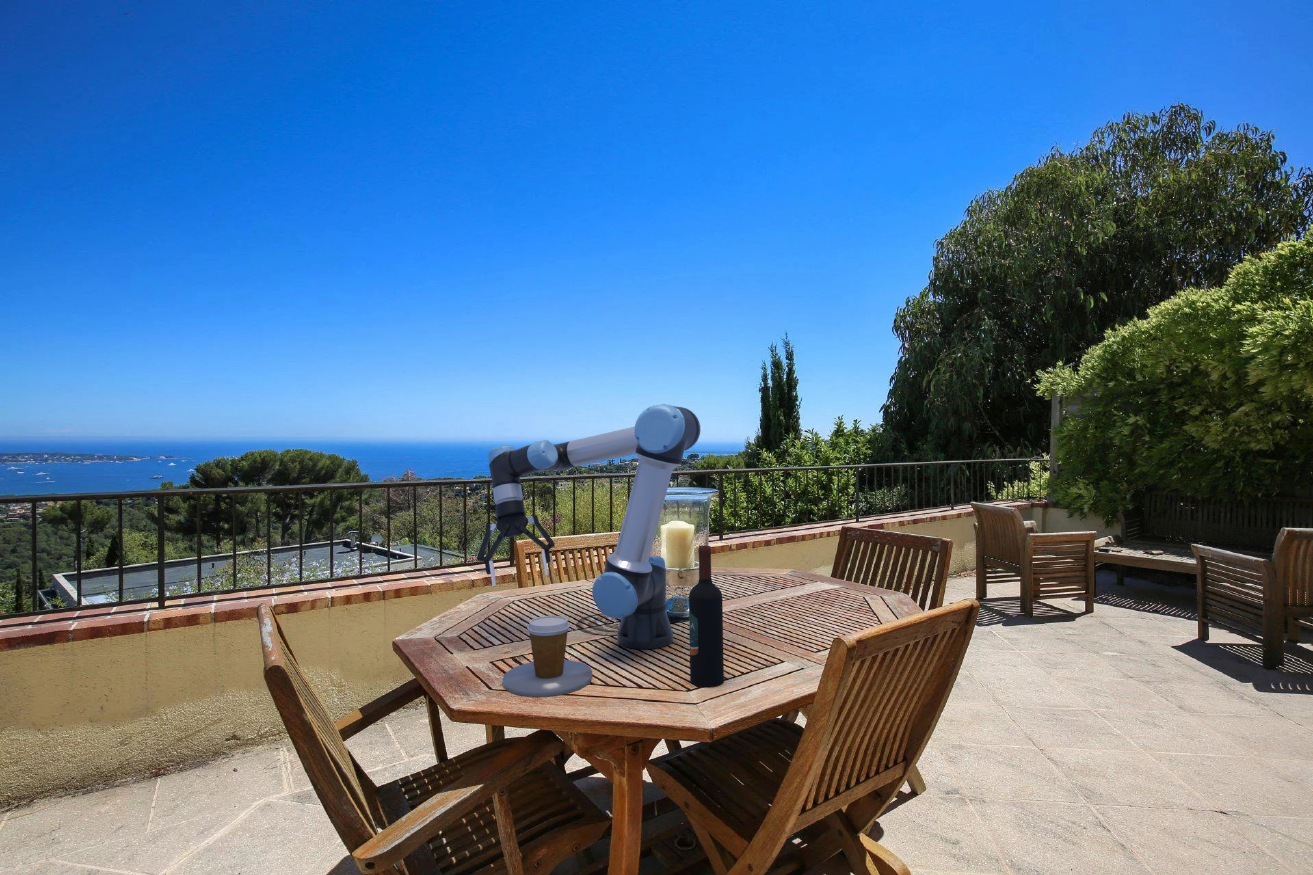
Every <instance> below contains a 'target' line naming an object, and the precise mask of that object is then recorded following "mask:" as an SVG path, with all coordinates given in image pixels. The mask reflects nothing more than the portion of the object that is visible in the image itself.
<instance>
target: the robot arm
mask: <svg viewBox="0 0 1313 875" xmlns="http://www.w3.org/2000/svg"><path fill="white" fill-rule="evenodd" d="M700 435H701V423H700V420H699V418H698V417H697V415H696V414H695V413H694V412H693V411H691V410H690V409H689V408H686V407H682V406H676V405H672V404H667V403H660V404H654V405H651V406H648V407H647V408H646V409H644V410H643V411H642V412H641V413H640V414H639V415H638V417H637V419H636V420H635V424H634V426H632V427H626V428H622V429H617V430H613V431H609V432H605V433H604V432H603V433H600V434H597V435H592V436H587V437H583V438H579V439H575V440H571V441H565V442H562V443H561V442H560V443H553V442H551V441H549V439H542V440H539V441H535V442H533V443H531V444H529V445H526V446H525V445H524V446H523V447H520V448H517V449H516V448H515V447H514V446H512V445H500V446H495V447H493V448H492V449H490V450H489V451H488V468H489V471H490V472H489V473H490V476H491V477H490V478H491V482H492V493H493V499H494V504H495V514H496V520H497V521H496V523H486V524H485V533H484V536H483V539H482V542H481V544H480V548H479V550H478V553H477V556H476V560H478V561H479V562H483V563H484V566H485V573H486V574H487V576H489V575H490V577H491V578H490V580H491V586H492V587H493V588H496V587H497V581H496V579H497V578H496V573H495V572H496V571H495V565H494V561H493V560H492V559H493V556H494V555H495V554H496V552H497V550H498V549H499V548H500V545H501V544H502V542H504V539H505V538H508V539H510V538H513V537H520V536H522V535H525V536H526V537H528V539H530V540H531V541H533V542H534V543H535V545H537V546H539V547H540V548H541V549H542V550H541V557H542V563H543V569H544V574H545V577H549V571H548V565H547V564H548V563H551V556H550V550H551V549H553V548H555V546H556V544H555V541H554V540H553V539H552V537H551V536H550V535H549V533H548V532H547V531H546V529H545V528H544V526H542V524H541V523H540V522H539V517H538V515H537V514H534V515H532V516H530V517H527V516H526V509H525V504H524V503H525V502H524V500H523V490H522V485H521V483H522V482H521V477H526V476H528V475H532V474H535V473H538V472H551V471H567V470H570V469H572V468H576V467H581V466H586V465H591V464H595V463H601V462H605V461H606V462H607V461H611V460H615V459H619V458H624V457H629V456H635V455H636V457H637V459H638V465H637V468H636V472H635V476H634V480H633V484H632V487H631V492H630V495H629V497H628V502H627V506H626V511H625V514H624V518H623V522H622V525H621V529H620V532H619V537H618V541H617V544H616V546H615V547H616V548H615V551H614V552H613V553H610V554H609V555H608V556H607V557H606V562H605V566H604V570H603V573H601V574H599V576H598V577H596V579H595V580H594V582H593V585H592V589H591V592H592V599H593V601H594V603H595V605H596V607H597V609H598V610H599V611H600V612H601V613H602V614H603V615H605V616H607V617H609V618H611V619H620V623H619V626H618V629H617V633H616V638H617V639H616V641H617V644H618V645H619V646H622V647H624V648H628V649H634V650H635V649H636V650H653V649H659V648H663V647H666V646H668V645H670V644H672V643H673V642H674V640H673V639H674V632H673V629H672V626H671V622H670V619H669V617H668V614H667V597H666V596H667V591H666V590H667V589H666V587H667V586H666V585H667V583H666V582H667V581H666V580H667V579H666V577H667V576H666V575H667V574H666V573H667V569H666V560H665V559H664V557H662V556H658V555H656V556H655V555H651V552H652V548H653V545H654V540H655V537H656V533H657V529H658V526H659V524H660V523H659V522H660V519H661V515H662V511H663V508H664V504H665V499H666V496H667V493H668V489H669V485H670V481H671V477H672V473H673V470H674V469H676V468H678V467H679V466H681V464H682V461H683V460H682V459H683V456H684V454H685V451H687V450H689V449H691V448H692V447H693V446H695V445H696V443H697V442H698V440H699V438H700ZM529 523H531V524H532V525H534V526H535V527H536V529H537V530H538V532H539V533H540V535H541V536H542V537H543V538H544V539H545V541H546V543H547V544H546V543H545V542H544V541H543V540H541V539H540V538H539V537H537V536H536V535H535V534H534V533H532V531H530V530H529V529H528V528H527V526H528V524H529ZM496 529H497V530H498V531H499V534H498V535H497V537H496V539H495V541H494V542H493V544H492V545H491V547H490V549H489V550H488V552H487V554H486V551H487V548H488V545H489V542H490V540H491V537H492V533H494V532H495V530H496ZM485 554H486V555H485Z"/></svg>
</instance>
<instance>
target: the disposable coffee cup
mask: <svg viewBox="0 0 1313 875" xmlns="http://www.w3.org/2000/svg"><path fill="white" fill-rule="evenodd" d="M568 620H569V619H568V618H566V617H564V616H559V615H545V616H539V617H534V618H532V619H531V620H529V623H528V625H527V627H526V628H527V629H526V630H528V633H529V638H530V645H531V654H532V660H533V661H532V662H534V669H535V675H536V676H537V677H539V678H555V677H558V676H560V675H562V674H563V668H564V660H566V659H565V657H566V650H567V640H568V639H567V638H568V631H569V628H570V623H569V621H568Z"/></svg>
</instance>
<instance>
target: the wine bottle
mask: <svg viewBox="0 0 1313 875" xmlns="http://www.w3.org/2000/svg"><path fill="white" fill-rule="evenodd" d="M697 554H698V582H697V583H696V585H694V586H693V587H692V588H691V589H690V591H689V594H688V624H689V625H688V628H689V635H688V636H689V637H688V638H689V683H690V684H692V685H693V684H694V685H693V686H695V685H696V686H695V687H699V688H716V687H720V686H722V685H723V684H725V673H724V672H725V671H724V670H725V669H724V666H725V665H724V622H723V621H724V617H723V616H724V614H723V612H724V611H723V610H724V608H723V593H722V590H720V588H719V587H718V586H716V584H714V583H713V580H712V547H711V545H699V546H698V553H697Z"/></svg>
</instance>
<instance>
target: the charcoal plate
mask: <svg viewBox="0 0 1313 875" xmlns="http://www.w3.org/2000/svg"><path fill="white" fill-rule="evenodd" d="M591 681H593V670H592V668H591V667H590V666H589V665H588V664H586V663H583V662H580V661H577V660H571V659H564V668H563V674H562V675H560V676H558V677H555V678H539V677H537V676H536V675H535V669H534V662H533V661H531V662H526V663H523V664H520V665H517V666H515V667H513V668H511V669H509V670H507V671H506V672H505V673H504V675H503V676H502V686H503V688H504V689H505V690H506V691H507V692H509V693H511V694H513V695H517V696H521V697H528V698H529V697H530V698H531V697H532V698H546V697H556V696H557V697H558V696H563V695H567V694H570V693H574V692H577V691H579V690H581V689H583V688H585V687H587V686H588V685H589V684H590V683H591Z"/></svg>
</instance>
